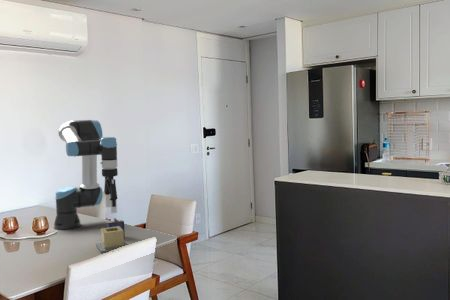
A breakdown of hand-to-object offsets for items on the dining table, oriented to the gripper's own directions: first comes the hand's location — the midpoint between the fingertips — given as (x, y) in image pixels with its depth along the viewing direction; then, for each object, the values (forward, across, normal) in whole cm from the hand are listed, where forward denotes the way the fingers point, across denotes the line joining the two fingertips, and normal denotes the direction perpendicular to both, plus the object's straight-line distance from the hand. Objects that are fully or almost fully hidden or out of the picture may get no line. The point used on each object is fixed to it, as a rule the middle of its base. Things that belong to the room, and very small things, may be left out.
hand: (111, 210), depth 209 cm
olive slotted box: (+18, +1, 0) cm, 18 cm away
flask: (+20, -15, +5) cm, 25 cm away
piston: (+19, +1, 0) cm, 19 cm away
